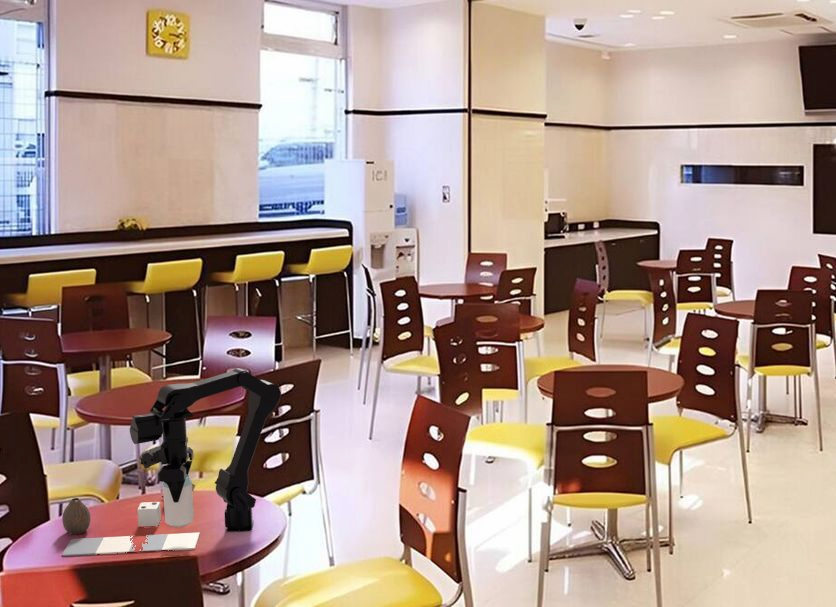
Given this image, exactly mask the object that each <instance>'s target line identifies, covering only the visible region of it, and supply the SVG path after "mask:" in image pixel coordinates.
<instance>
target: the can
mask: <svg viewBox="0 0 836 607" xmlns="http://www.w3.org/2000/svg"><path fill="white" fill-rule="evenodd" d="M186 475H187V474H186ZM192 484H193V481H192V480H191V478H190V475H189V474H188V475H187V477H186V480H185V483H184V486H183V489H182V492H181V495H180V498H179V502H176V503H174V501H173V499H172V496H171V493H170V490H169V487H168V485H167V484H166V483H165V482H162V494H163V495H162V496H164V498H163V509H164V512H163V513H164V523H165V524H167V525H168V526H170V527H173V528H174V527H175V528H179V527H185V526H189V525H190V524H191V523H192V522H193V521H194V520H195V512H194V499H193V498H194V497H193V493H194V492H192Z"/></svg>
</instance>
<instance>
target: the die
mask: <svg viewBox="0 0 836 607" xmlns="http://www.w3.org/2000/svg"><path fill="white" fill-rule="evenodd" d="M160 520H161V521H162V509H161V501H152V502H151V501H147V502H140V504H139V506H138V508H137V522H138V527H139V526H158V525H159V526H160V524H159V522H160V523H161V521H160ZM159 526H158V527H159Z"/></svg>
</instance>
